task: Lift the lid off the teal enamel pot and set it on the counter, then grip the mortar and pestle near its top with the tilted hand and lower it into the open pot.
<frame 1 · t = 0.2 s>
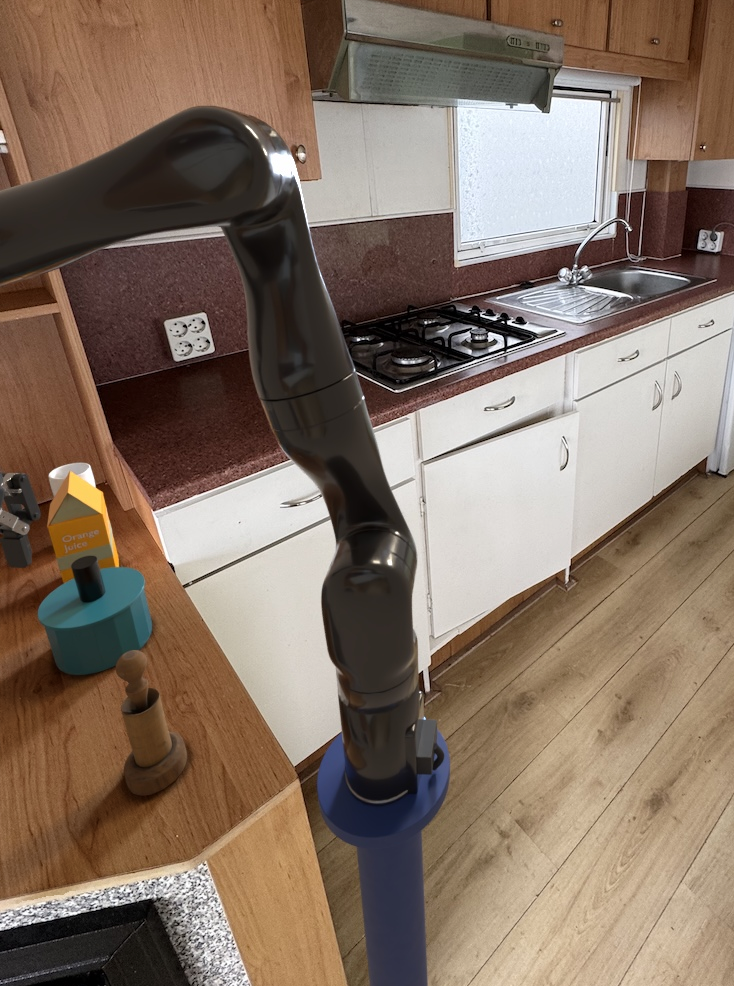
pot: (105, 642, 90), on the counter
lid: (93, 597, 87), point 8 cm above the counter, touching pot
mortar and pestle: (158, 770, 71), on the counter
orange juice: (94, 579, 104), on the counter
drinking glass: (87, 537, 116), on the counter
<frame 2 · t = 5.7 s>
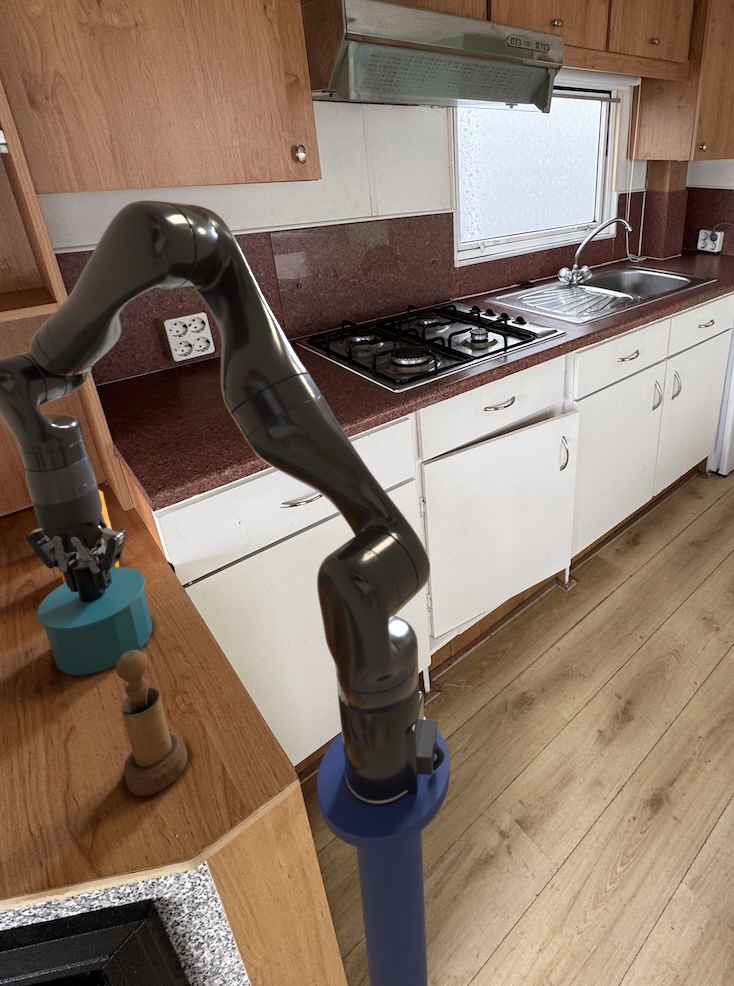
hand: (90, 588, 87), 10 cm above the counter, tool pointing down, fingers closed on lid, 3 cm apart
lid: (93, 597, 87), point 9 cm above the counter, touching gripper, pot
everything else where it was.
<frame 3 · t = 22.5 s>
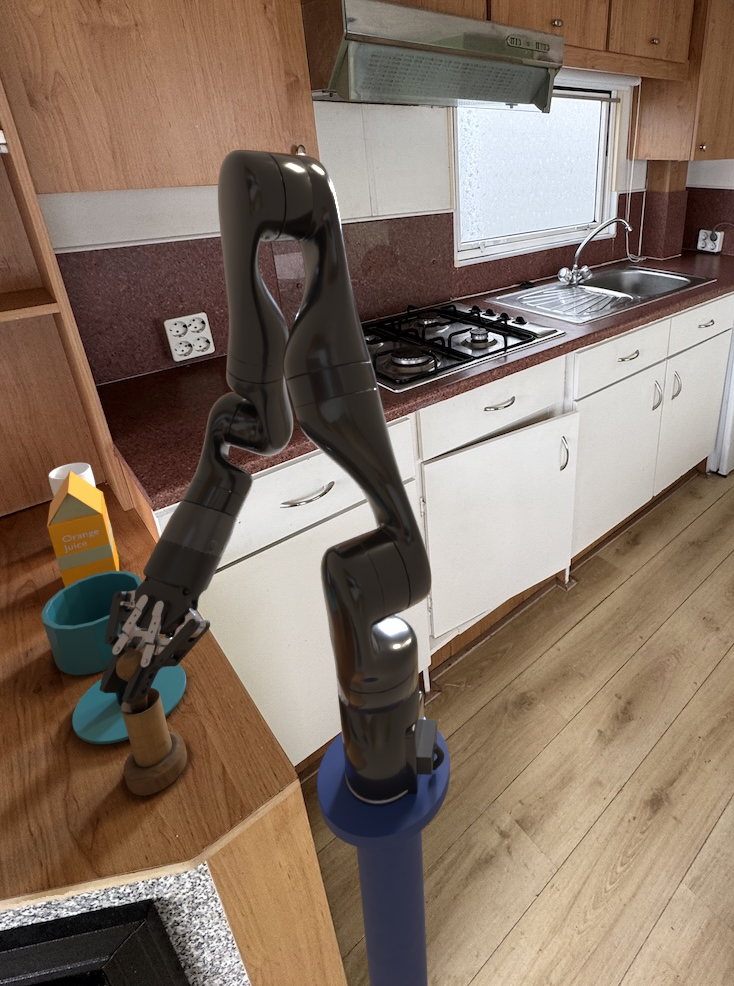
hand: (119, 696, 65), 14 cm above the counter, tool tilted 45°, fingers closed on mortar and pestle, 3 cm apart
lid: (132, 699, 80), point 1 cm above the counter
mortar and pestle: (158, 770, 71), on the counter, touching gripper
everything else where it was.
when the fingers open (14 cm above the counter, at t = 31.9 s): mortar and pestle stays where it is, resting on pot.
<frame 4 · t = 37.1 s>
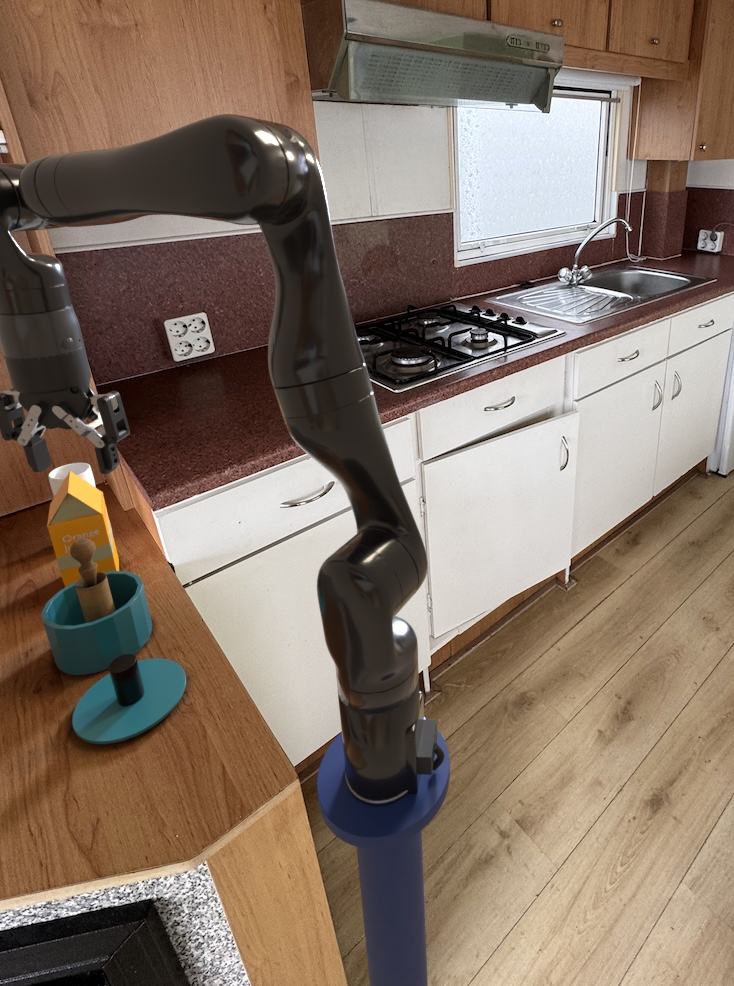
hand: (76, 470, 72), 34 cm above the counter, tool pointing down, fingers open, 8 cm apart
mortar and pestle: (107, 639, 90), resting on pot
everything else where it was.
at the end: mortar and pestle 0.3 cm off-centre in the pot, point 0.3 cm above the pot's base; lid inside the target area (0.1 cm from its centre), point 0.6 cm above the counter; mortar and pestle tilted 0° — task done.
